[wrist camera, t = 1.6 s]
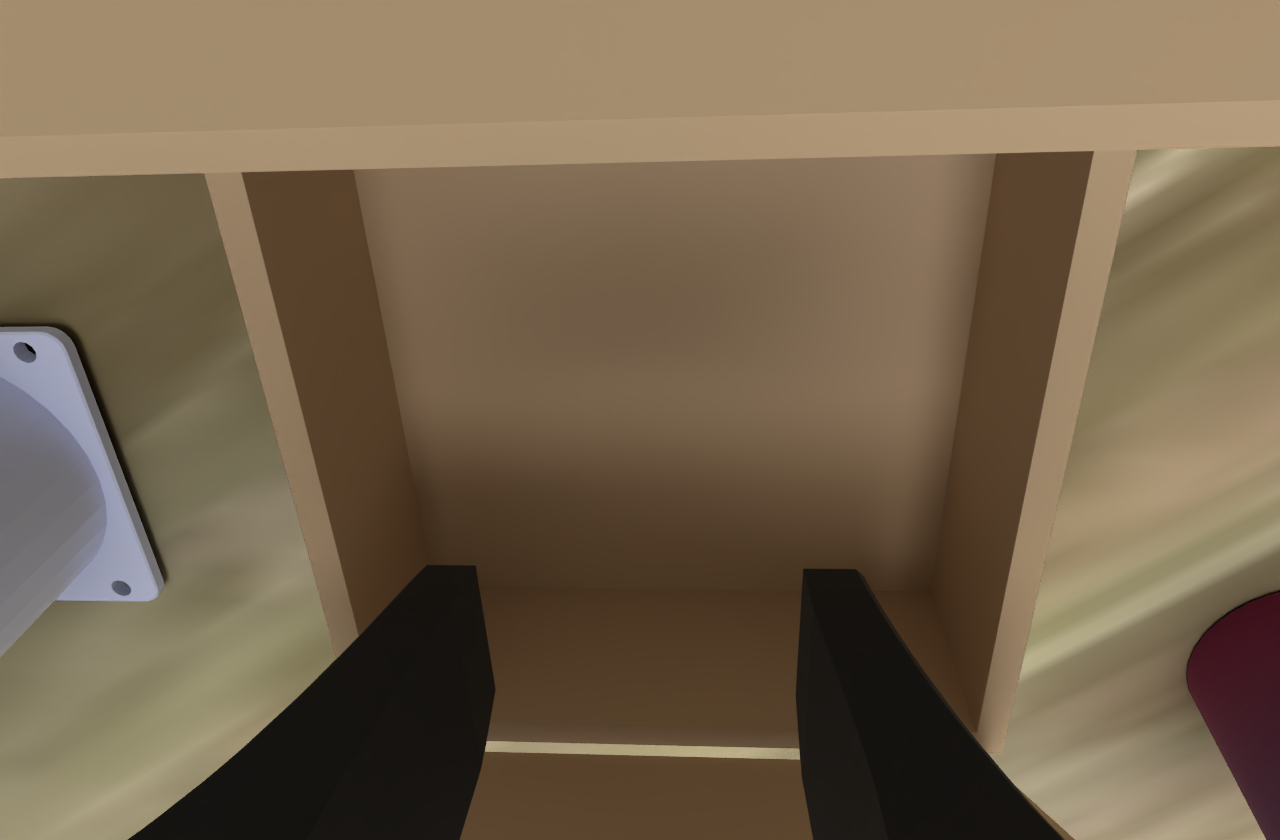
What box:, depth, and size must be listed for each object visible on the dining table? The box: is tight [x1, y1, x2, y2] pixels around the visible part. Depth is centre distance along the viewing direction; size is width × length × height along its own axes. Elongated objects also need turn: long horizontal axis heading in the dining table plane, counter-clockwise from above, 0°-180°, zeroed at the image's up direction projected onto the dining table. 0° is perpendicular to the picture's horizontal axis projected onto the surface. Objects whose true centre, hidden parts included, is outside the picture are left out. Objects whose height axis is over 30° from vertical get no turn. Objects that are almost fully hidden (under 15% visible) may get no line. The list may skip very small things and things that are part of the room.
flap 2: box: [460, 752, 1075, 840], centre depth 16 cm, size 13×7×1 cm
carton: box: [204, 150, 1137, 753], centre depth 17 cm, size 14×18×5 cm
